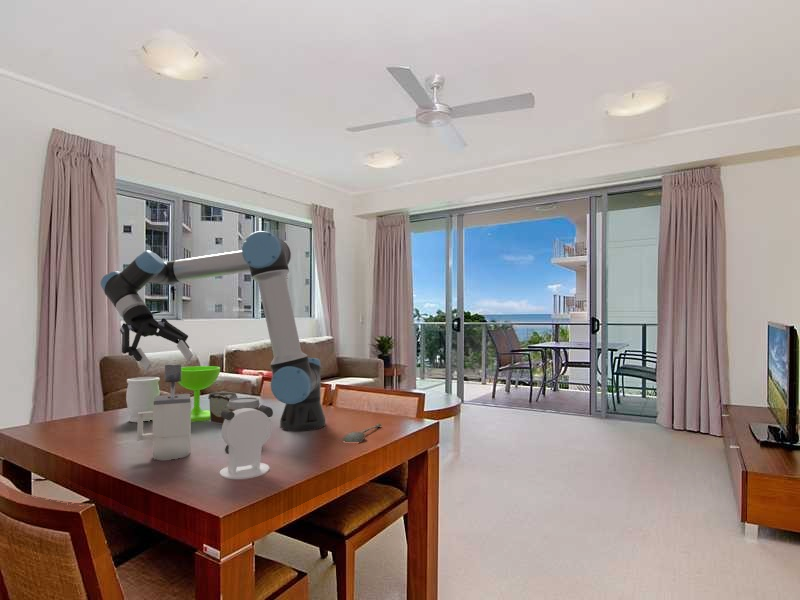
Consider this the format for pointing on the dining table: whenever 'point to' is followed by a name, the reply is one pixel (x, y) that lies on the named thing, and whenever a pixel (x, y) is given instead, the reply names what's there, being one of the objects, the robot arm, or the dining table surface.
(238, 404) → the disposable coffee cup
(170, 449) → the press pot
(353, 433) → the soupspoon
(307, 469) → the dining table surface
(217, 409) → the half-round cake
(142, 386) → the jar
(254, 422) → the panda figurine
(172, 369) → the plunger
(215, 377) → the wineglass
